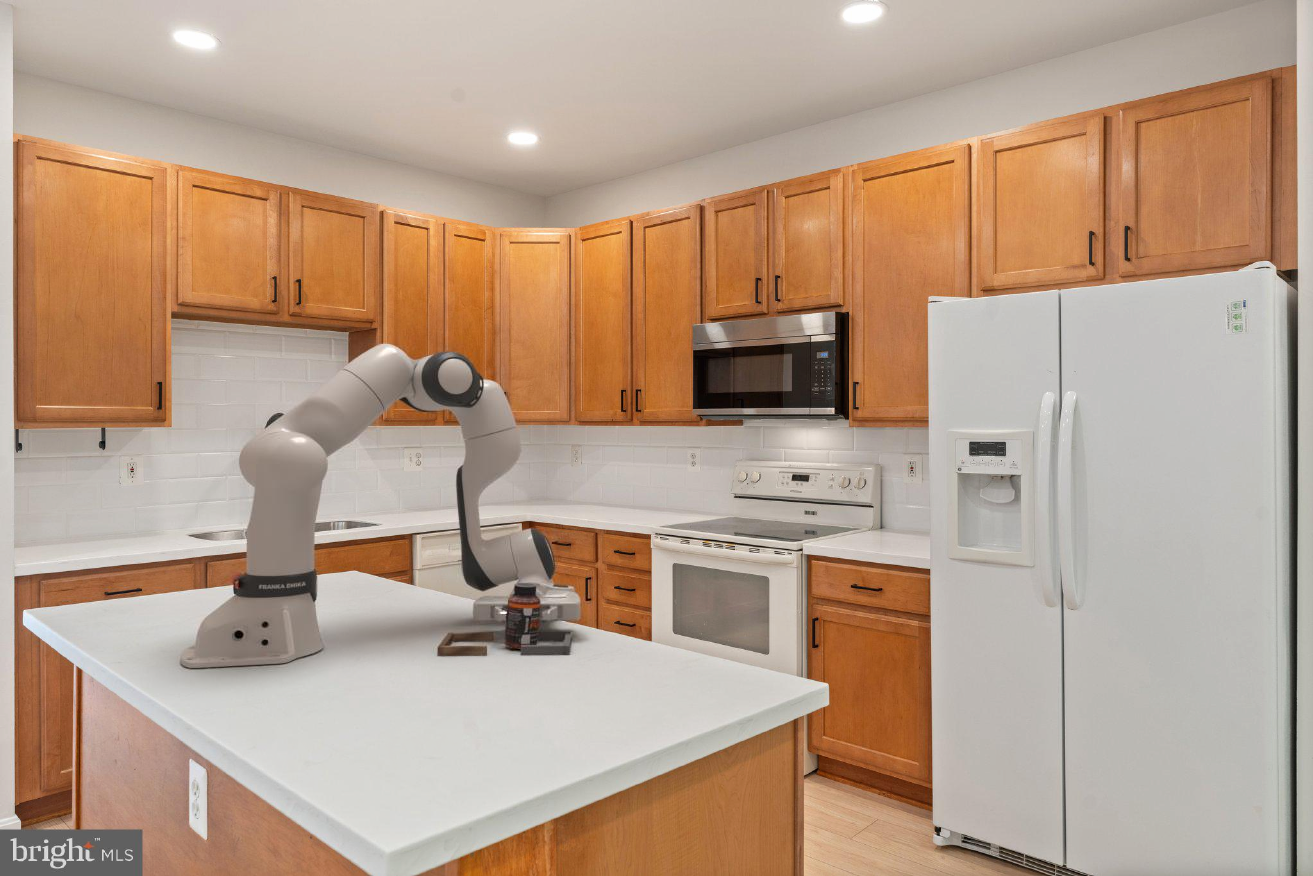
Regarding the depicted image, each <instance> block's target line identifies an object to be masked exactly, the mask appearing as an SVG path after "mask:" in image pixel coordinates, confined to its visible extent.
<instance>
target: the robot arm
mask: <svg viewBox="0 0 1313 876" xmlns="http://www.w3.org/2000/svg"><path fill="white" fill-rule="evenodd" d="M398 401H400V402H402V403H404V404H405V405H407V406H408V407H409V408H411V409H413V410H415V411H418V412H421V413H431V412H436V411H437V412H439V411H445V410H449V411H450V412H451V414H453V415H454V417H456V420H457V422H458V425H460V430H461V434H462V438H463V442H464V446H465V448H464V449H465V455H464V460H463V464H462V465H461V466H460V467H459V468H458V469H457V471H456V478H455V479H456V480H455V487H456V492H455V493H456V505H457V515H458V526H459V535H460V548H461V549H460V552H461V558H460V567H461V574H462V577H463V580H464V582H465V583H466V585H467V586H469V587H471V588H473V589H475V590H477V591H480V592H485V591H486V592H487V591H489V590H490V589H494V588H496V587H499V586H500V585H503V584H509V583H512V582H515V581H516V583H531V584H535V585H536V596H537V597H539V598H540V614H539V625H540V624H547V623H550V622H560V621H566V622H568V621H569V622H571V621H572V622H575V621H576V622H577V621H580V620H581V613H582V611H581V609H582V608H581V605H582V604H581V597H580V596H579V594H578V593H577V592H576V590H575V586H571V585H563V584H555V582H554V580H553V576H554V574H555V571H556V561H555V556H554V552H553V549H552V546H551V543H550V542H549V539H548V537H547V536H546V535H544V534H543V533H542V532H541V531H539V530H538V529H536V528H533V527H531V528H526V529H522V530H519V531H514V532H512V533H509V534H505V535H501V536H498V537H493V538H490V539H483V538H482V533H481V522H480V521H481V520H480V519H481V518H480V509H479V500H480V497H481V494H482V493H483V492H484V491H485V490H486V489H487V488H488V487H489V486H490V485H491V484H493V483H494V482H495V481H498V480H499V479H501V477H503V476H504V475H505V474H507V473H508V472H509V471H511V470H512V468H513V467H514V466H515V465H516V464H517V462H518V460H519V458H520V457H521V451H522V446H521V440H520V435H519V434H520V433H519V430H518V427H517V423H516V420H515V416H514V413H513V411H512V407H511V405H510V403H509V401H508V398H507V396H506V394H505V392H504V390H503V388H502V386H501V385H500V384H499V383H498V382H496V381H494V380H492V379H491V380H490V379H484V377H483V376H482V375H481V374H480V372H478V371H477V369H476V367H475V365H474V363H472V362H471V360H470V359H469V358H468V357H466V356H464V355H463V354H461V353H460V352H456V351H450V350H448V351H446V350H445V351H439V352H436V353H433V354H429V355H427V356H423V357H421V358H418V359H413V358H411V357H409V356H408V355H407V353H406V352H405V351H403V350H402V349H401V348H399V347H398V346H396V345H394V344H390V343H381V344H377V345H376V346H374V347H371V348H370V349H368V350H367V351H365V352H363V353H361V354H360V355H358V356H356V357H355V358H354V359H352V360H351V361H350V362H349V363H348V364H346V365H345V366H343V367H342V368H341V369H340V370H339V371H338V372H336V373H335V374H334V375H333V376H332V377H331V378H329V379H328V380H327V381H326V382H325V383H324V384H322V385H321V386H320V387H319V388H317V389H316V390H315V391H314V392H313V393H311V394H310V395H309V396H308V397H307V398H306V399H304V400H303V401H301V402H300V403H299V404H297V405H295V406H294V407H293V408H291V409H289V410H288V411H287V412H285V413H284V414H283V415H281V416H279V418H277V419H276V420H274V421H273V422H272V423H271V424H269V425H268V426H266V428H264V429H262V430H261V431H260V432H259V433H258V434H256V435H255V436H254V437H252V438H251V439H249V440H248V441H247V442H246V443H245V445H244V446H242V449H241V451H240V453H239V458H238V465H239V470H240V473H241V474H242V476H243V478H244V479H245V481H246V482H247V483H248V484H249V485H251V486H252V487H254V493H253V500H252V506H251V513H250V516H249V522H248V524H247V527H246V572H244V573H240V572H236V573H233V575H232V576H231V579H230V580H231V583H232V585H233V586H232V587H233V588H232V590H233V594H234V595H233V596H231V597H230V598H229V599H228V600H226V601H224V603H223V604H221V605H220V606H219V607H217V608H215V609H214V610H213V611H212V612H210V613H209V614H208V615H207V616H205V618H204V619H203V620H202V621H201V623H200V625H199V627H198V629H197V633H196V638H195V644H194V645H190V646H189V647H187V648H186V649H184V650H183V651H182V653H181V657H180V663H181V665H182V666H184V667H186V668H189V669H201V668H219V667H235V666H236V667H238V666H239V667H240V666H256V665H257V666H258V665H273V664H274V665H275V664H277V665H278V664H285V663H289V662H291V661H293V660H295V659H299V658H301V657H305V656H309V655H312V654H315V653H317V652H319V651H321V650H322V649H324V643H323V641H322V640H323V639H322V637H321V632H320V629H319V628H320V627H319V623H318V616H317V608H316V601H317V597H318V575H317V570H316V568H315V534H316V532H315V531H316V521H317V515H318V509H319V506H320V505H319V504H320V500H321V494H322V486H323V482H324V479H325V477H326V475H327V472H328V467H329V462H328V457H330V456H331V455H333V454H335V453H336V452H337V451H339V450H340V449H341V448H343V447H345V446H346V445H348V444H351V443H352V442H353V441H354V440H356V439H357V438H358V437H359V436H360V435H361V434H363V432H364V431H365V430H367V428H369V427H370V426H371V425H372V424H373V423H374V422H375V421H376V420H378V419H379V418H380V417H381V416H382V415H383V414H384V413H385V412H386V411H387V410H388V409H389V408H391V406H392V405H393V404H395V403H396V402H398ZM514 593H515V592H514V587H513V588H512V590H511V591H510V594H509V595H485V596H481V597H479V598H477V599H476V600H475V601H473V606H472V608H473V609H472V616H473V618H472V620H475V621H477V622H500V623H501V622H502V623H503V622H505V623H506V620H507V606H508V599H509V597H510V596H511V595H513V594H514Z"/></svg>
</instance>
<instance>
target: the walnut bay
mask: <svg viewBox="0 0 1313 876" xmlns="http://www.w3.org/2000/svg"><path fill="white" fill-rule="evenodd" d="M458 642H459V643H463V642H464V643H467V642H470V643H475V642H478V643H479V642H484V643H485V642H495V632H494V631H489V632H488V631H486V632H485V631H484V632H483V631H482V632H475V631H473V632H471V631H470V632H469V631H468V632H447V634H446V636H445V637H444V638H443V639H442V641H441V642H440V643H439V644H438V646H437V649H436V650H437V652H436V653H437V657H453V656H454V657H455V656H459V657H460V656H461V657H463V656H465V657H467V656H468V657H469V656H471V657H472V656H473V657H474V656H487V655H488V645H484V644H483V645H452V644H453V643H458Z"/></svg>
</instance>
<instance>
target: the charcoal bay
mask: <svg viewBox="0 0 1313 876" xmlns="http://www.w3.org/2000/svg"><path fill="white" fill-rule="evenodd" d="M571 641H572V632H571V631H538V641H537V642H563V644H537V645H521V649H520V656H537V655H538V656H548V655H551V656H555V655H556V656H557V655H559V656H560V655H563V656H566V655H567V656H568V655H570V651H571Z"/></svg>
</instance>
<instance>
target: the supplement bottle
mask: <svg viewBox="0 0 1313 876" xmlns="http://www.w3.org/2000/svg"><path fill="white" fill-rule="evenodd" d="M513 586H514V587H513V588H514V592H515V593H514V594H513V595H511V596H510V597H509V599H508V606H507V620H506V622H505V631H504V632H505V633H504V644H505V646H506V647H508V648H510V649H515V650H521V645H538V642H539V641H538V632H539V627H540V626H539V625H540V624H539V614H540V598H539V597H537V596H536V585H535V584H531V583H517V582H516V583H514V585H513Z"/></svg>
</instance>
